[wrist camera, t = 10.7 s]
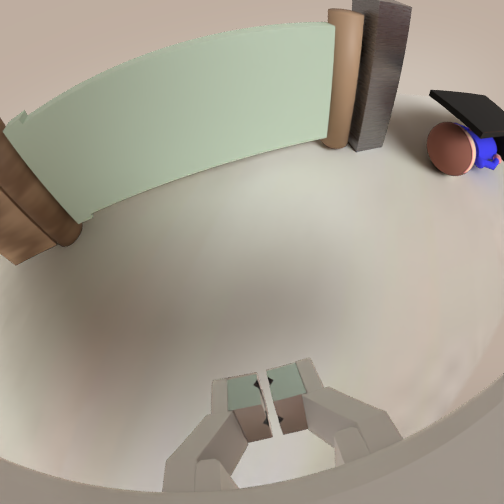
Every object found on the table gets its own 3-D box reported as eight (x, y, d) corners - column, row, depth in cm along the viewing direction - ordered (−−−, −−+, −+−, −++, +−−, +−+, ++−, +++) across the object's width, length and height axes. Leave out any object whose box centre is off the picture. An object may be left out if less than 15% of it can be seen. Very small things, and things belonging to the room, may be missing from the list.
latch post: (332, 157, 22) (347, -4, 10) (311, 130, 24) (314, -12, 12) (382, 146, 22) (411, 7, 10) (359, 122, 24) (376, -6, 12)
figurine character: (471, 139, 25) (404, 146, 22) (493, 94, 19) (430, 79, 16) (505, 176, 22) (450, 198, 19) (533, 132, 15) (492, 131, 12)
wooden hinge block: (15, 271, 20) (-78, 189, 8) (18, 246, 21) (-65, 163, 9) (81, 240, 21) (-20, 120, 8) (83, 213, 22) (-2, 98, 10)
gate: (81, 232, 20) (-5, 131, 10) (82, 211, 21) (8, 112, 11) (352, 145, 22) (371, 17, 11) (338, 130, 23) (350, 9, 13)
